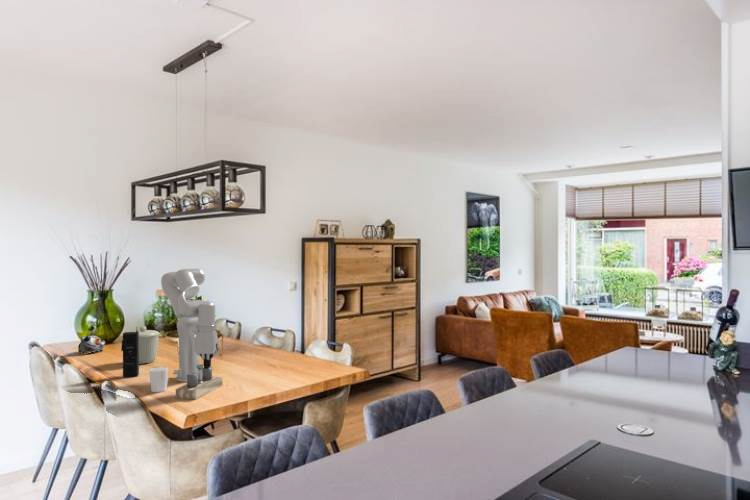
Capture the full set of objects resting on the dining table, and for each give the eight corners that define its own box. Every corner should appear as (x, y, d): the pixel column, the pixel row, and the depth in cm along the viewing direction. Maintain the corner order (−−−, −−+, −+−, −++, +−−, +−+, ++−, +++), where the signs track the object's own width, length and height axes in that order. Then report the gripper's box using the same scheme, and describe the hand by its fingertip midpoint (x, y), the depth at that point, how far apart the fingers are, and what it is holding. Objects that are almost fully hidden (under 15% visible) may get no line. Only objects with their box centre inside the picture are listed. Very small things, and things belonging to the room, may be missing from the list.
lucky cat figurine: (106, 349, 320) (109, 332, 315) (99, 360, 309) (103, 342, 304) (81, 344, 316) (85, 326, 311) (73, 355, 305) (77, 337, 300)
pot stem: (195, 383, 222) (195, 365, 222) (198, 381, 225) (198, 364, 225) (201, 383, 222) (200, 366, 222) (204, 382, 225) (204, 364, 225)
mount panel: (175, 398, 214) (175, 389, 214) (203, 384, 235) (203, 376, 235) (196, 399, 212) (195, 390, 212) (222, 385, 233) (222, 377, 233)
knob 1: (185, 396, 216) (185, 375, 216) (190, 393, 220) (190, 372, 220) (194, 396, 215) (193, 375, 215) (199, 393, 219) (199, 373, 219)
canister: (159, 364, 278) (159, 327, 277) (124, 367, 271) (123, 329, 271) (160, 357, 294) (160, 323, 294) (127, 360, 288) (127, 325, 288)
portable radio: (120, 377, 248) (119, 329, 248) (123, 375, 254) (122, 327, 254) (137, 376, 250) (136, 328, 250) (139, 373, 256) (139, 326, 256)
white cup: (170, 387, 230) (170, 366, 230) (164, 392, 222) (164, 371, 222) (154, 388, 230) (153, 367, 230) (146, 393, 222) (146, 371, 222)
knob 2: (200, 388, 228) (200, 368, 228) (205, 386, 232) (205, 366, 232) (208, 389, 227) (208, 368, 227) (213, 386, 231) (213, 366, 231)
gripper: (188, 329, 227) (188, 369, 227) (216, 330, 224) (217, 370, 224) (197, 327, 234) (197, 365, 234) (225, 328, 231) (225, 366, 231)
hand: (207, 367), depth 229 cm, fingers closed
